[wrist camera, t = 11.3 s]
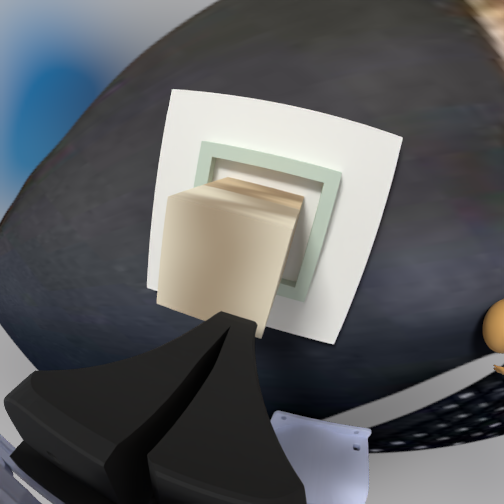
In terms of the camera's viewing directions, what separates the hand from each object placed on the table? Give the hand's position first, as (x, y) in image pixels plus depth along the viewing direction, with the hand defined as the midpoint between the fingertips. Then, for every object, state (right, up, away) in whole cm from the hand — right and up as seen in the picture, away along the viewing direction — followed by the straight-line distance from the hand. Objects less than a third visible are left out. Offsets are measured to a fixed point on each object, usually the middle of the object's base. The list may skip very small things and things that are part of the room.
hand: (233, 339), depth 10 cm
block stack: (+1, +5, +8) cm, 9 cm away
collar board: (+1, +5, +9) cm, 10 cm away
